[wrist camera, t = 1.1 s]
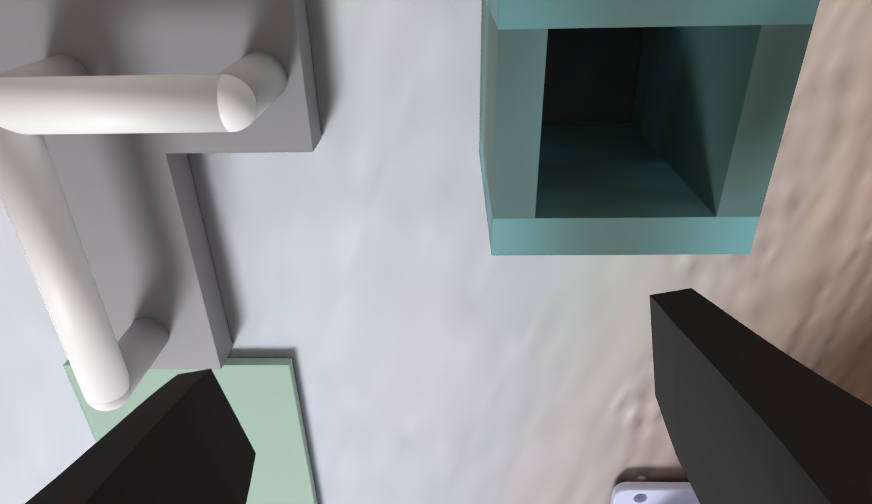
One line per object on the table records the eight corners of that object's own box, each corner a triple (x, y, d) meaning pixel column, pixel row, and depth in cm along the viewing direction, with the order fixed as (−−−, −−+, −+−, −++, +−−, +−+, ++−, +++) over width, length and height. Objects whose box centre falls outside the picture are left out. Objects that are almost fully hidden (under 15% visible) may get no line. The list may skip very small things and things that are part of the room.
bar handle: (303, -17, 15) (249, 3, 11) (346, 346, 20) (321, 444, 16) (-7, -10, 15) (-166, 11, 11) (120, 346, 20) (44, 443, 17)
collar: (689, -47, 14) (828, -32, 9) (655, 150, 17) (749, 254, 11) (482, -43, 14) (500, -25, 9) (479, 152, 17) (491, 255, 11)
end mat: (291, 357, 21) (288, 365, 20) (333, 591, 27) (331, 600, 27) (69, 357, 21) (63, 365, 20) (165, 589, 28) (162, 597, 27)
